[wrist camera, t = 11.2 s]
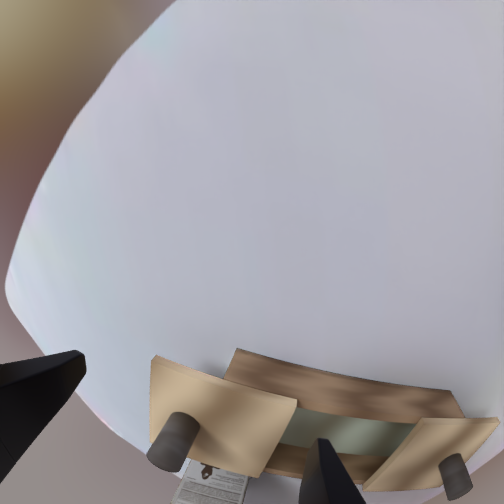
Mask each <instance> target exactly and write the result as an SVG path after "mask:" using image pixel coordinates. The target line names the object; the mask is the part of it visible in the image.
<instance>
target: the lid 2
mask: <svg viewBox="0 0 504 504" xmlns="http://www.w3.org/2000/svg"><path fill="white" fill-rule="evenodd" d="M499 424H500V421H499V419H498V418H497V417H491V418H424V417H422V418H421V419H420V420H419V422H418V423H417V424H416V426H415V427H414V428H413V430H412V431H411V432H410V433H409V435H408V436H407V437H406V438H405V440H404V441H403V442H402V443H401V444H400V446H399V447H398V448H397V449H396V450H395V451H394V453H393V454H392V455H391V456H390V457H389V458H388V459H387V460H386V462H385V463H384V464H383V465H382V466H381V467H380V468H379V469H378V470H377V471H376V472H375V473H374V474H373V475H372V476H371V477H370V478H369V479H368V480H367V481H366V482H365V483H364V484H363V485H362V486H363V491H404V490H417V489H427V488H435V487H440V486H442V485H443V484H444V488H445V491H446V495H447V498H448V500H449V501H451V500H455V499H457V498H460V497H461V496H463V495H465V494H466V493H468V492H469V491H470V490H471V489H472V488H473V485H472V482H471V479H470V476H469V474H468V471H467V468H466V466H465V463H466V462H467V461H468V460H469V459H470V457H471V456H472V455H473V454H474V453H475V452H476V451H477V450H478V449H479V448H480V447H481V445H482V444H483V443H484V442H485V441H486V440H487V438H488V437H489V436H490V435H491V434H492V432H493V431H494V430H495V429H496V427H497V426H498V425H499Z"/></svg>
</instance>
